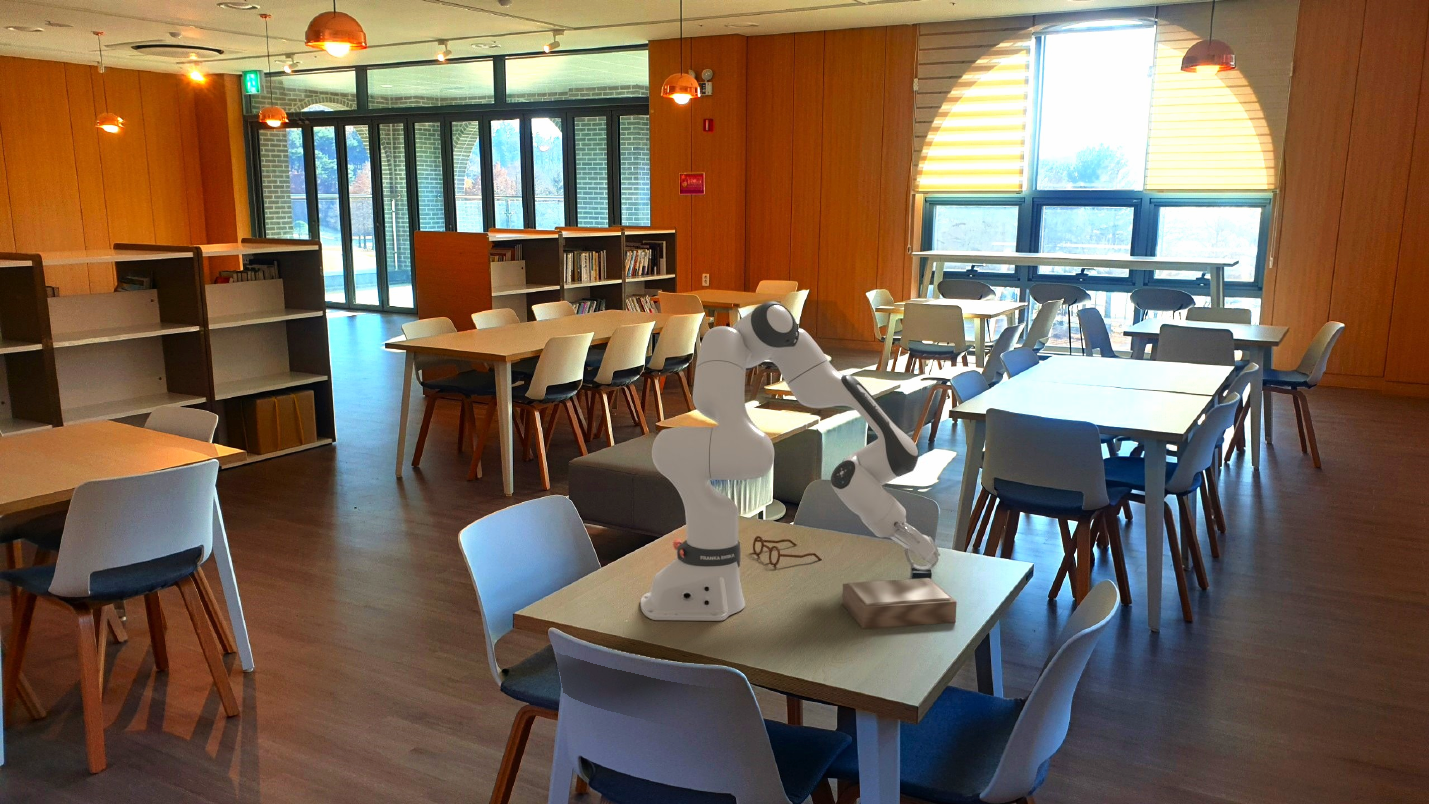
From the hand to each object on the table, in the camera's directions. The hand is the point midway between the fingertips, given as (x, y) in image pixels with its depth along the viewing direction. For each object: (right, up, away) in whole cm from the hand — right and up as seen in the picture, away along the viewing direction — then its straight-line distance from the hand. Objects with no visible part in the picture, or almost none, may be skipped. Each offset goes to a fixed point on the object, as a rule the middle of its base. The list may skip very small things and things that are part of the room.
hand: (923, 554), depth 233 cm
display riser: (-9, -10, -18) cm, 22 cm away
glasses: (-30, -4, +19) cm, 35 cm away
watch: (0, -7, +1) cm, 7 cm away
